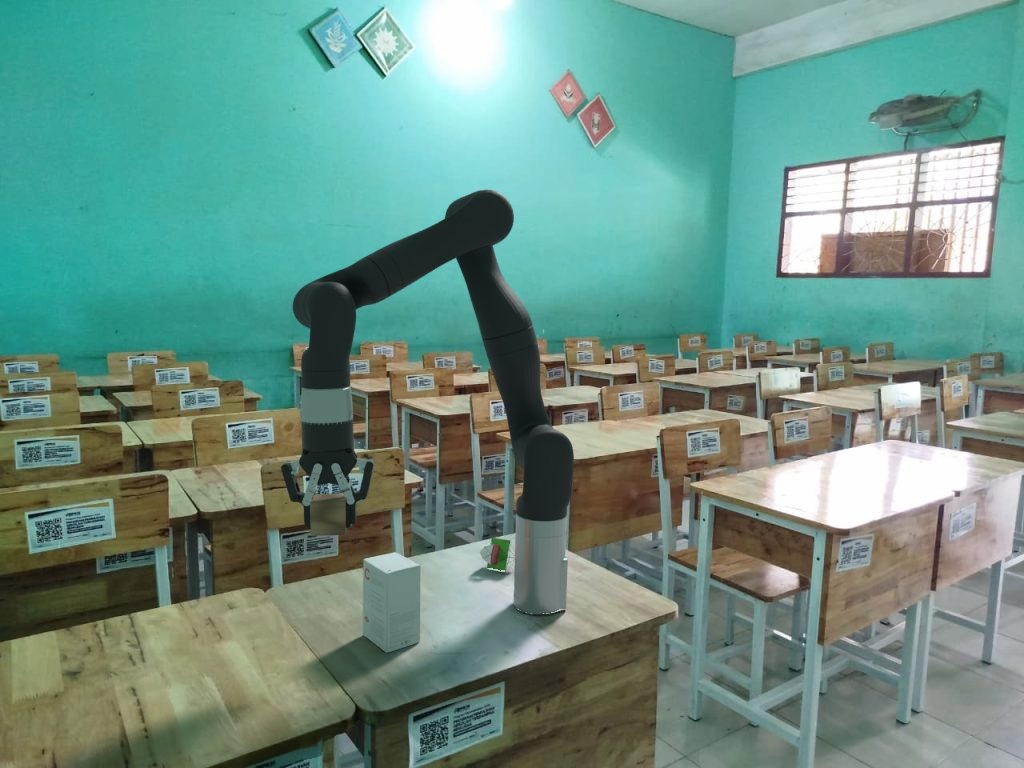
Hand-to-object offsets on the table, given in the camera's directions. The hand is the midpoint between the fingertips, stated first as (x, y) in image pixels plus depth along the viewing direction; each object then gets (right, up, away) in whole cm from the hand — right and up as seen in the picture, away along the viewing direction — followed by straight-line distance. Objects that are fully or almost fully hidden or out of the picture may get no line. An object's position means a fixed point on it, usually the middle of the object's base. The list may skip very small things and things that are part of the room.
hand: (330, 526), depth 108 cm
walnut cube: (0, 0, 0) cm, 0 cm away
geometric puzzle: (+25, -17, +40) cm, 50 cm away
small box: (+8, -20, +8) cm, 23 cm away
